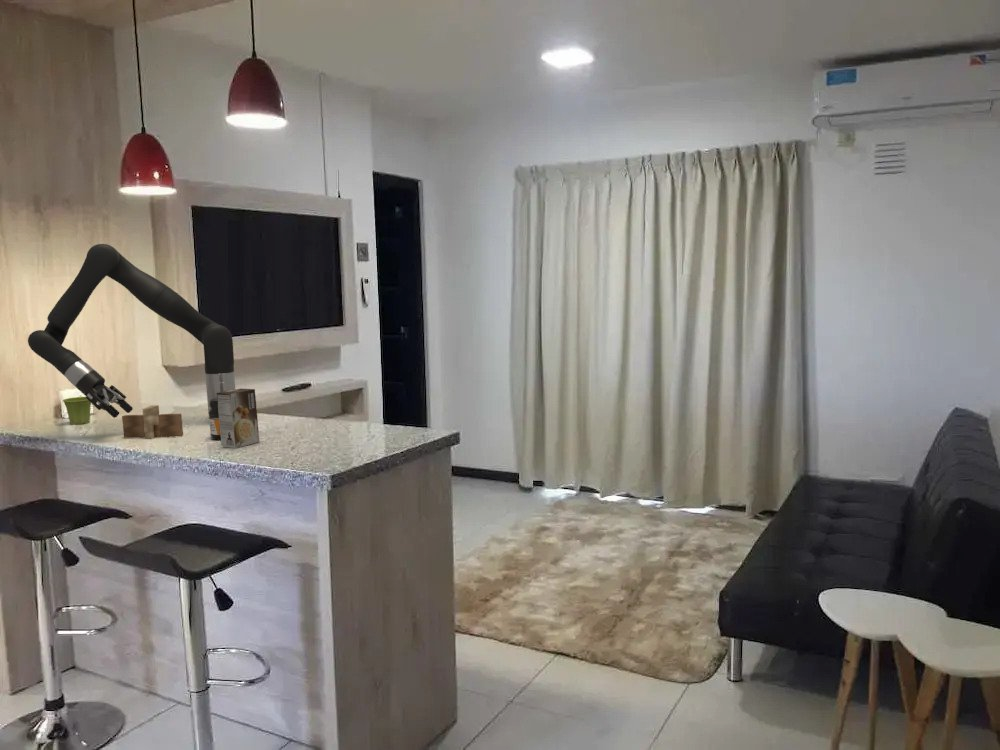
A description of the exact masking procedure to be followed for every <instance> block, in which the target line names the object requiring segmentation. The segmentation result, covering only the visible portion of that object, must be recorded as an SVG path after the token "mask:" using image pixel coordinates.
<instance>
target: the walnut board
mask: <svg viewBox="0 0 1000 750" xmlns="http://www.w3.org/2000/svg"><path fill="white" fill-rule="evenodd" d="M121 420H122V421H121V422H122V429H123V430H122V432H123V439H126V438H125V437H145V432H144V421H143V414H124V415H122V416H121ZM158 420H159V424H155V425H153V427H154V438H170V437H169V436H181V437H183V436H184V430H183V429H184V428H183V417H182V413H159V415H158ZM182 435H183V436H182ZM166 436H167V437H166Z"/></svg>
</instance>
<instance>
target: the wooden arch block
mask: <svg viewBox="0 0 1000 750" xmlns="http://www.w3.org/2000/svg"><path fill="white" fill-rule="evenodd" d="M142 415H143V421H144V432H145V438H153V439H155V437H154V427H153V425H155V424H159V420H158V415H160V407H159V405H154V404H153V405H149V406H146V407H143V408H142ZM145 438H144V439H145Z"/></svg>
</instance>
